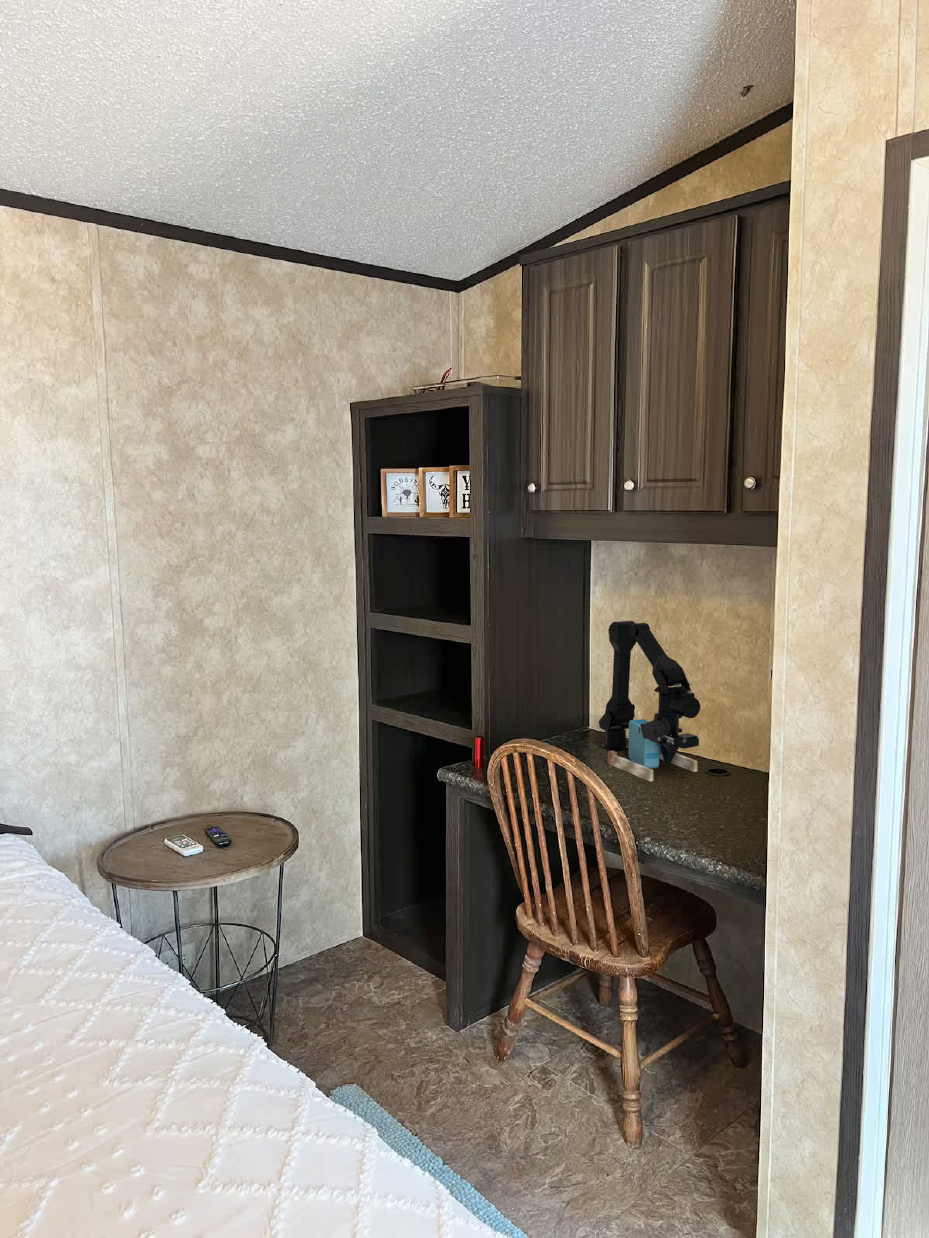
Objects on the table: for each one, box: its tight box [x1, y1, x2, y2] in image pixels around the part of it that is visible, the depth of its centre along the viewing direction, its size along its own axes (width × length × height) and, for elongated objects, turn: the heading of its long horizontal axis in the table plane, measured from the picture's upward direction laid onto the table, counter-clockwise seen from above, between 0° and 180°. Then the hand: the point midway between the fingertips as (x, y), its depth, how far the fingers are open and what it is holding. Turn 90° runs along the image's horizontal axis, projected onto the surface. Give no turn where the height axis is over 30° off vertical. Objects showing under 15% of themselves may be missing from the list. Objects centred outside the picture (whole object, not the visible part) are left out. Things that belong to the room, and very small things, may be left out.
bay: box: [607, 747, 699, 782], centre depth 264 cm, size 18×18×4 cm
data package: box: [628, 718, 660, 770], centre depth 267 cm, size 12×4×12 cm, turn 12°
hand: (667, 764), depth 259 cm, fingers closed
